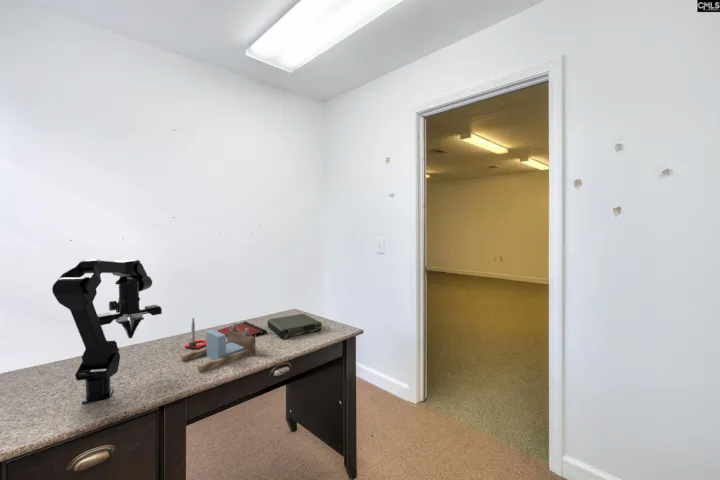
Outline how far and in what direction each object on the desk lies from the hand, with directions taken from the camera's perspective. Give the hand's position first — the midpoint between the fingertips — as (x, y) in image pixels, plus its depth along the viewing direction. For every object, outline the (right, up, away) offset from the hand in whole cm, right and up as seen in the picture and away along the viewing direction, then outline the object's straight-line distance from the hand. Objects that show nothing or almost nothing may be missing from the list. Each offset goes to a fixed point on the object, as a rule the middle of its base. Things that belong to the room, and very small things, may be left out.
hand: (130, 338), depth 110 cm
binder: (+24, -11, +42) cm, 49 cm away
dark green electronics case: (+49, -11, +46) cm, 68 cm away
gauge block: (+28, -12, +15) cm, 34 cm away
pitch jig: (+26, -12, +13) cm, 31 cm away
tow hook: (+11, -12, +25) cm, 30 cm away
